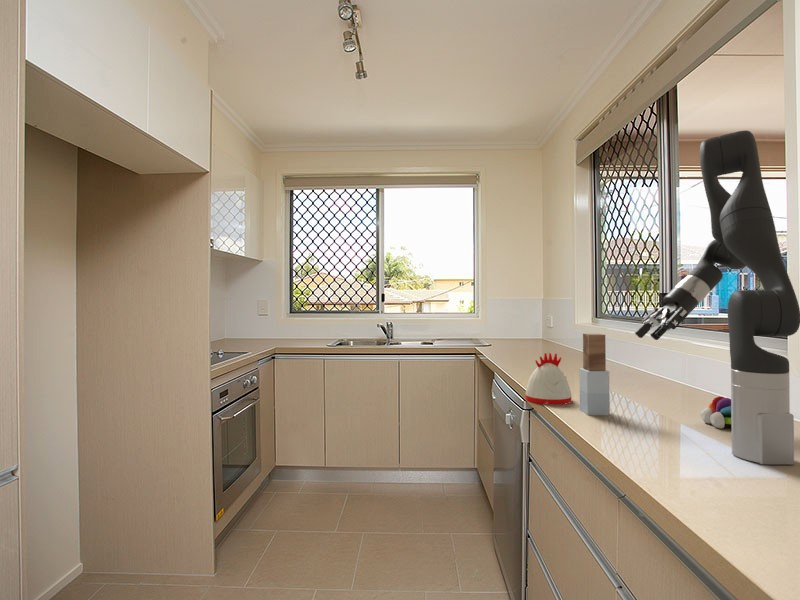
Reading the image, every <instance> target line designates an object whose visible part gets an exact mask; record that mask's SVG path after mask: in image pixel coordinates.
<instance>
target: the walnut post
mask: <svg viewBox="0 0 800 600" xmlns="http://www.w3.org/2000/svg"><path fill="white" fill-rule="evenodd" d="M582 356H583V357H582V365H583V366H582V368H583V369H585V370H588V371H606V369H607V368H606V367H607V366H606V364H607V363H606V359H607V358H606V334H602V333H582Z"/></svg>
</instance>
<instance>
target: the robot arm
mask: <svg viewBox="0 0 800 600" xmlns="http://www.w3.org/2000/svg"><path fill="white" fill-rule="evenodd" d="M698 155H699V156H698V158H699V165H700V170H701V176H702V181H703V186H704V191H705V195H706V198H707V199H706V200H707V202H708V206H709V207H708V208H709V214H710V224H711V226H710V227H711V234H712V235H711V236H712V238H713V240H712V241H711V242H709V243H708V245H707V247H706V248H705V250H704V253H703V254H702V256H701V258H700V260H699V261H698V263H697V265H696V266H695V267H694V268H693V269H692V270H691V271H690V272H689V273H688V274H687V276H685V277H684V278H682V279H681V280H680V281H679V282H678V283H676V285H675V286H674V287H673V288H672V289H671V290H670V291H668V293H666V295H665V296H664V297H663V299H662V300H663V303H664V306H662V307H660V308H658V307H657V306H656V307H654V308H653V309H652V311H650V312H649V313H648V314H647V315H646V316H645V317H644V318H643V319H642V320H641V323H642V324H641V326H640V327H639V328H638V329H637V330H636V331H635V332H634V334H635V336H637V337H638V338H640V339H642V338H643V337H645V336H646V334H648V333H649V331H650V330H652V329H653V331H652V332H651V333H650V337H651V338H652V339H653V340H655V341H658V340H660V338H661V337H662V336H663V335H664V334H665V333H666V332H669V331H670V330H676V329H677V328H678V327H679V325H680V324H682V322H683V321H684V320H685V319H686V318H688V315H690V314H691V313H692V312H693V311H694V310H695V308H697V306H699V305H700V304H701V303H702V301H704V300H705V298H706V297H707V295H708V294H709V293H710V292H712V290H713V289H714V288H715V287H716V286H717V285H718V284H719V283H720V282H721V281H722V279H723V277H724V275H723V272H722V271H721V270H720V268H719V267H717V266H716V264H718V265H720V266H722V267H725V268H729V269H732V270H741V269H743V268H745V267H747V268H748V269H750V270H751V272H753V273H754V275H756V276H755V277H757V278H758V280H759V281H760V284H761V286H762V288H763V289H740V290H735V291H733V292H732V293H731V294H730V296H729V298H728V302H727V322H728V335H729V336H728V337H729V354H730V355H729V356H730V368H731V369H730V399H731V424H730V425H731V428H730V429H731V454H732V455H734V456H736V457H737V458H740V459H742V460H746V461H749V462H755V463H757V464H759V465H795V430H794V429H795V427H794V426H795V425H794V424H795V421H794V419H795V418H794V414H792V413H790V412H791V411H790V409H791V408H790V406H791V403H790V397H791V396H790V360H789V359H788V358H787V357H786V356H784V355H781V354H778V353H774V352H770V351H767V350H765V349H763V348H762V347H760V346H758V344H757V343H756V341H755V337H790V336H793V335H795V334H796V333H797V332H798V331H799V328H800V306H799V301H798V298H797V295H796V292H795V289H794V287H793V284H792V281H791V278H790V276H789V274H788V271H787V269H786V266H785V262H784V260H783V256H782V252H781V249H780V244H779V241H778V235H777V230H776V226H775V221H774V217H773V213H772V211H771V207H770V203H769V201H768V197H767V194H766V190H765V186H764V182H763V177H762V171H761V163H760V158H759V152H758V145H757V141H756V138H755V136H754V134H753V133H752V132H751V131H750V130H746V129H745V130H739V131H734V132H729V133H725V134H721V135H718V136H714V137H710V138H707V139H705V140H704V139H703V141H702V142H701V143H700V146H699V154H698ZM738 172H742V174H741V177H740V180H739V182H738V184H737V186H736V188H735V189H734V191H733V192H732V194H731V193H729V192H728V191H727V189H725V188H724V187H723V186H722V184H721V183H720V180H719V179H718V177H719V176H724V175H725V176H726V175H729V174H734V173H738ZM655 327H656V328H655Z"/></svg>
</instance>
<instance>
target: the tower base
mask: <svg viewBox="0 0 800 600" xmlns="http://www.w3.org/2000/svg"><path fill="white" fill-rule="evenodd" d="M610 395H611V393H610V392H609V393H586V392H584V391H582V390H580V389H579V411H580V410H581V411H580V412H582V413H583V412H584V414H585V415H587V416H610V415H611V414H610V413H611V410H610V409H611V408H610V403H611V402H610V398H611V397H610Z"/></svg>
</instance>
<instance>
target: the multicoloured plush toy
mask: <svg viewBox="0 0 800 600" xmlns="http://www.w3.org/2000/svg"><path fill="white" fill-rule="evenodd" d="M700 418H701V420H702V421H703V422H704V423H705V424H707V425H712V426H713V427H715V428H717V429H719V430H722V429H724V428H725V425H731V397H730V398H729V397H724V396H716V397H714V398H713V400H712V401H711V403H709V405H708V407H706V408H704V409H703V410H701V412H700Z"/></svg>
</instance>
